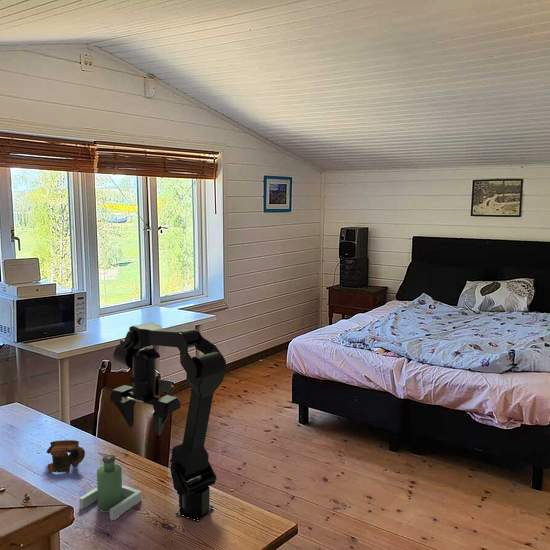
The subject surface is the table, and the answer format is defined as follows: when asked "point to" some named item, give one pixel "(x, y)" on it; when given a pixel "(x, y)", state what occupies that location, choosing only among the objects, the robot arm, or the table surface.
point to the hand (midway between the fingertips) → (145, 431)
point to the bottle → (109, 484)
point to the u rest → (131, 499)
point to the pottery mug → (65, 455)
